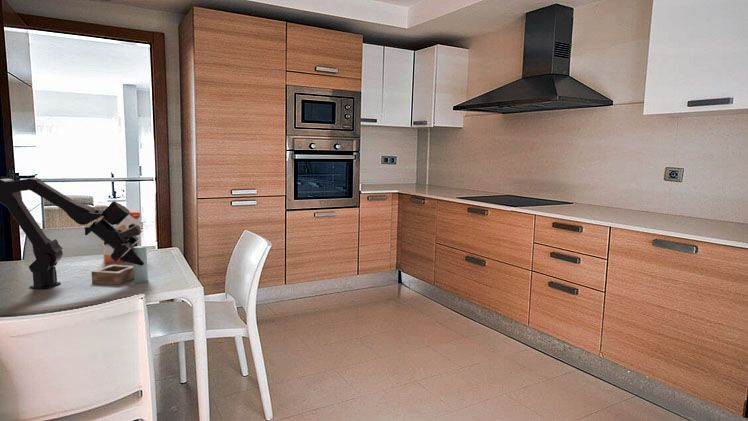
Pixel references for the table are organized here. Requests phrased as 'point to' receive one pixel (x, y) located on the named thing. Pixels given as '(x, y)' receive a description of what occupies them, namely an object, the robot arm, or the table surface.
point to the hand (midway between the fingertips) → (144, 263)
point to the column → (139, 270)
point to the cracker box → (124, 225)
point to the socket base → (113, 274)
